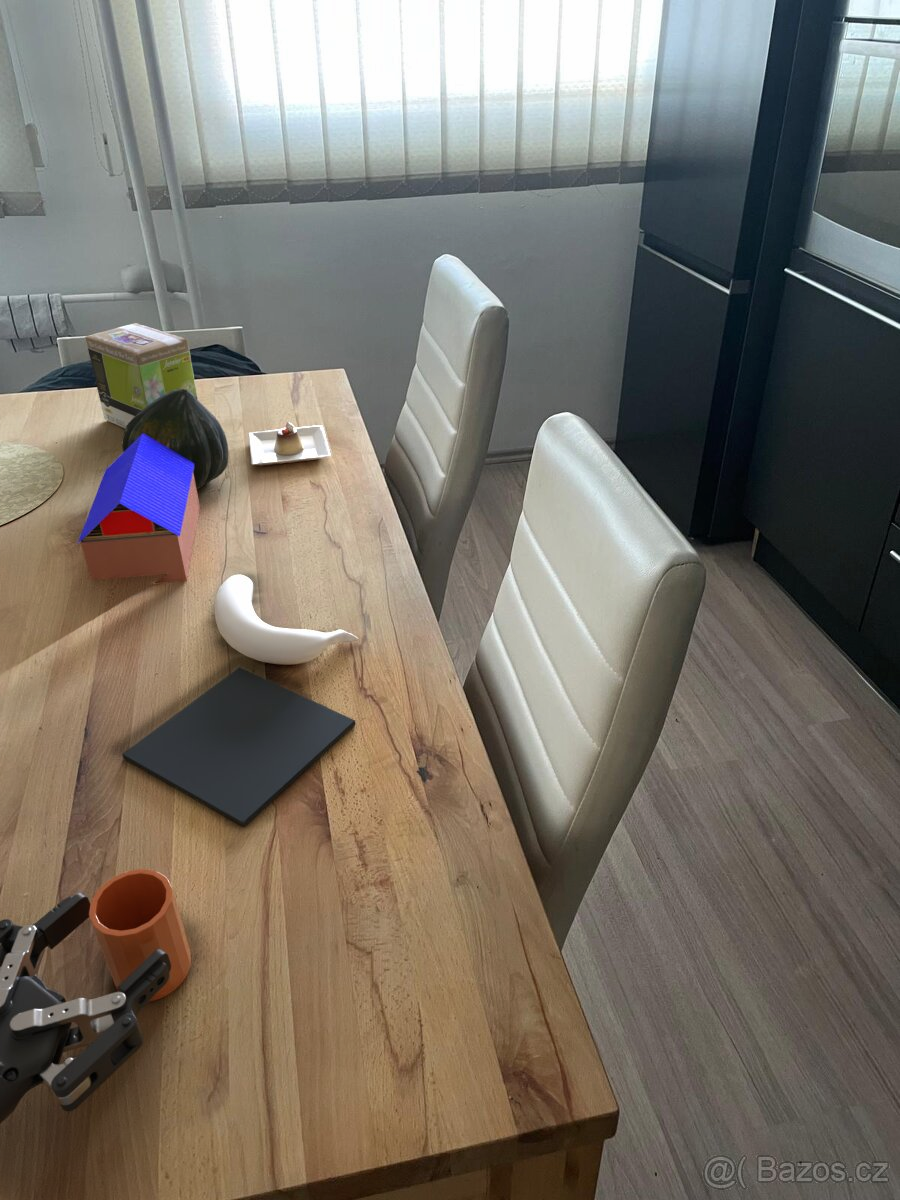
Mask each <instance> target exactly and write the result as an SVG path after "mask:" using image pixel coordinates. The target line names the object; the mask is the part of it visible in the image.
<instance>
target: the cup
mask: <svg viewBox="0 0 900 1200" xmlns="http://www.w3.org/2000/svg"><path fill="white" fill-rule="evenodd" d="M89 920H90V923H91V925H92V928H93V931H94V933H95V935H96V939H97V941H98V944H99V947H100V949H101V953H102V955H103V957H104V960H105V963H106V965H107V969H108V970H109V973H110V976H111V978H112V981H113V983H114V986H115V988H116V990H117V992H119V990H118V988H117V987H118V986H119V985H120V984H121V983H122V982H123V981H124V980H125V979H126V978H127V977H128V976H129V975H130V974H131V973H132V972H133V971H134V970H135V969H136V968H137V967H138V966H140V965H141V964H142V963H143V962H144V961H145V960H146V959H147V958H148V957H149V956H150V955H151V954H152V953H153V952H154V951H155V950H157V949H161V950H162V951H164V952H165V953H167V954H168V956H169V960H170V963H171V970H170V972H169V975H170V977H169V979H168V981H167V983H166V984H165V985H164V986H163V987H162V988H161V989H160V990H159V991H158V992H157V993H156V994H155V995H154V996H153V997H152V998H151V999H150V1000H149V1001H148V1002H147V1003H150V1002H154V1001H157V1000H160V999H163V998H164V997H167V996H168V995H170V994H171V993H173V992H174V991H176V990H177V989H178V988H179V987H180V986H181V984H182V983H183V982H184V981H185V979H186V977H187V976H188V974H189V972H190V969H191V965H192V955H191V949H190V945H189V942H188V938H187V934H186V930H185V927H184V923H183V920H182V917H181V914H180V910H179V906H178V902H177V899H176V896H175V893H174V888H173V887H172V885H171V883H170V881H169V879H168V877H167V876H166V875H163V874H162V873H161V872H159V871H157V870H155V869H148V868H136V869H131V870H126V871H123V872H121V873H120V874H117V875H115V876H113V877H111V878H110V879H108V880H107V881H106V882H104V884H102V886H100V887H99V888H98V889H97V890H96V892H95V894H94V896H93V897H92V899H91V900H90V910H89Z"/></svg>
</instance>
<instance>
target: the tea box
mask: <svg viewBox="0 0 900 1200" xmlns="http://www.w3.org/2000/svg"><path fill="white" fill-rule="evenodd" d="M85 341H86V346H87V351H88V356H89V359H90V363H91V368H92V372H93V376H94V380H95V385H96V389H97V390H96V391H97V393H98V398H99V403H100V407H101V411H102V415H103V419H104V420H105V421H107V422H109V423H112V424H115V426H119V427H121V428H123V429H125V428H126V426H127V425H128V423H129V422H130V421H131V420H132V419H133V418H134V417H135V416H136V415H137V414H138V413H140V412H141V411H142V410H143V409H144V408H145V407H147V406H148V405H149V404H151V403H152V402H153V401H155V400H156V399H158V398H159V397H161V396H163V395H164V394H166V393H168V392H170V391H172V390H176V389H187V390H188V391H190V392H191V393H192V394H193V395H194V396H195V397H196V399H197V400H198V401H199V399H198V392H197V387H196V382H195V375H194V368H193V364H192V358H191V352H190V351H191V350H190V347H189V340H188V339H187V338H184V337H182V336H178V335H176V334H172V333H168V332H165V331H163V330H159V329H156V328H152V327H150V326H147V325H143V324H139V323H137V322H133V323H130V324H126V325H123V326H120V327H116V328H112V329H108V330H104V331H101V332H97V333H94V334H90V335H86V336H85Z"/></svg>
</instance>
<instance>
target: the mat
mask: <svg viewBox="0 0 900 1200" xmlns="http://www.w3.org/2000/svg"><path fill="white" fill-rule="evenodd" d="M355 726H356V720H355V719H353V718H351V717H349V716H347V715H344V714H342V713H341V712H338V711H335V710H333V709H331V708H329V707H327V706H325V705H323V704H320V703H319V702H316V701H314V700H312V699H310V698H308V697H305V696H303V695H301V694H299V693H297V692H295V691H292V690H291V689H288V688H286V687H284V686H282V685H280V684H278V683H275V682H273V681H271V680H269V679H267V678H265V677H262V676H260V675H259V674H256V673H254V672H252V671H249V670H247V669H245V668H243V667H241V666H238V667H237V668H236V669H235V670H233V671H232V672H229V674H228V675H226V676H225V677H224V678H222V679H221V680H219V681H218V682H217V683H216V684H214V685H213V686H211V687H210V688H209V689H208V690H206V691H204V693H202V694H201V695H199V696H198V697H197V698H195V699H194V700H193V701H191V702H190V703H189V704H187V705H186V706H185V707H183V708H182V709H181V710H179V711H178V712H177V713H175V714H174V715H173V716H172V717H170V718H169V719H167V720H166V721H164V722H162V724H161V725H159V726H158V727H157V728H155V729H154V730H153V731H151V732H150V733H148V734H147V735H146V736H145V737H143V738H142V739H141V740H139V741H137V743H135V744H133V745H132V746H131V747H129V748H128V749H127V750H126V751H124V752H123V753H122V758H123V759H124V760H126V761H127V762H129V763H131V764H132V765H135V766H136V767H138V768H140V769H141V770H143V771H145V772H147V773H149V774H150V775H152V776H153V777H155V778H157V779H159V780H161V781H162V782H164V783H166V784H168V785H169V786H171V787H173V788H175V789H176V790H178V791H180V792H182V793H184V794H185V795H187V796H189V797H190V798H192V799H194V800H196V801H198V802H199V803H201V804H203V805H205V806H206V807H208V808H209V809H211V810H213V811H215V812H217V814H220V815H222V816H224V817H226V818H227V819H228V820H231V821H232V822H234V823H236V824H238V825H240V826H241V827H243V828H245V827H246V826H247V825H248V824H249V823H250V822H251V821H252V820H253V819H254V818H256V817H257V816H258V815H259V814H260V813H261V812H262V811H263V810H265V808H267V807H268V806H269V805H270V804H271V803H272V802H273V801H274V800H275V799H277V797H278V796H280V794H282V793H283V792H284V791H285V790H286V789H287V788H288V787H289V786H290V785H291V784H293V783H294V782H295V781H296V780H297V779H298V778H299V777H300V776H301V775H303V773H305V772H306V771H307V770H308V769H309V768H310V767H311V766H312V765H313V764H314V763H315V762H317V760H319V759H320V758H321V757H322V756H323V755H324V754H325V753H327V751H329V750H330V749H331V748H332V747H333V746H334V745H336V743H337V742H339V741H340V739H342V738H343V737H344V736H345V735H346V734H347V733H348V732H349V731H350V730H351V729H353V728H354V727H355Z"/></svg>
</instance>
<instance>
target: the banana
mask: <svg viewBox="0 0 900 1200" xmlns="http://www.w3.org/2000/svg"><path fill="white" fill-rule="evenodd" d="M253 595H254V583H253V581H252V579H250V577H248V576H246V575H244V574H234V575H231V576H229V577H228V578H227V579H225V580H224V582H223V583H222V584H221V586H220V587H219V589H218V591H217V592H216V595H215V597H214V598H215V600H214V618H215V625H216V626H217V629H218V632H219V633H220V636H222V638H223V640H225V642H226V643H227V644H228V645H229V646H230V647H231V648H233V649H234V650H236V651H237V652H238V653H240V654H242V655H244V656H245V657H248V658H250V659H253V660H255V661H259V662H262V663H268V664H272V665H273V664H275V665H287V666H288V665H299V664H304V663H307V662H311V661H313V660H314V659H316V658H317V657H319V656H320V655H321V654H323V652H324V651H325V650H326V649H327V648H328V647H330V646H332V645H337V644H344V643H345V644H346V643H347V644H349V643H353V642H358V641H359V640H360V638H358V637H357V636H356V635H355V634H353V633H350V632H347V631H346V630H344V629H337V630H333V631H329V632H322V631H318V630H313V629H299V628H285V627H278V626H273V625H271V624H268V623H266V622H265V621H263V620H262V619H261V618H259V616H258V615H257V614H256V612H255V610H254V606H253Z"/></svg>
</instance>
